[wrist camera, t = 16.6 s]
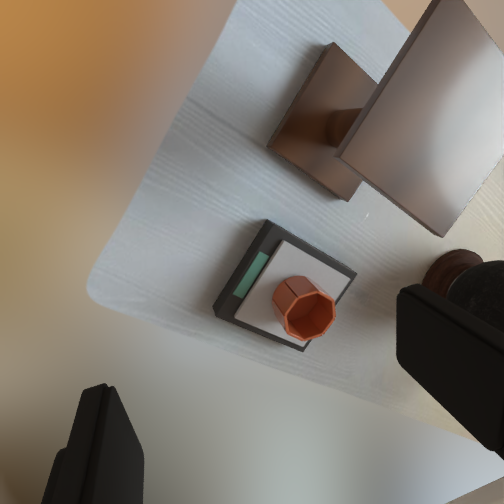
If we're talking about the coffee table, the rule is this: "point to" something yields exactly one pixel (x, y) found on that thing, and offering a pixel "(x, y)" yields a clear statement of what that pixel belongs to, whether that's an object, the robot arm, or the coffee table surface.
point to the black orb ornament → (470, 284)
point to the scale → (276, 281)
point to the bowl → (303, 308)
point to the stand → (405, 119)
